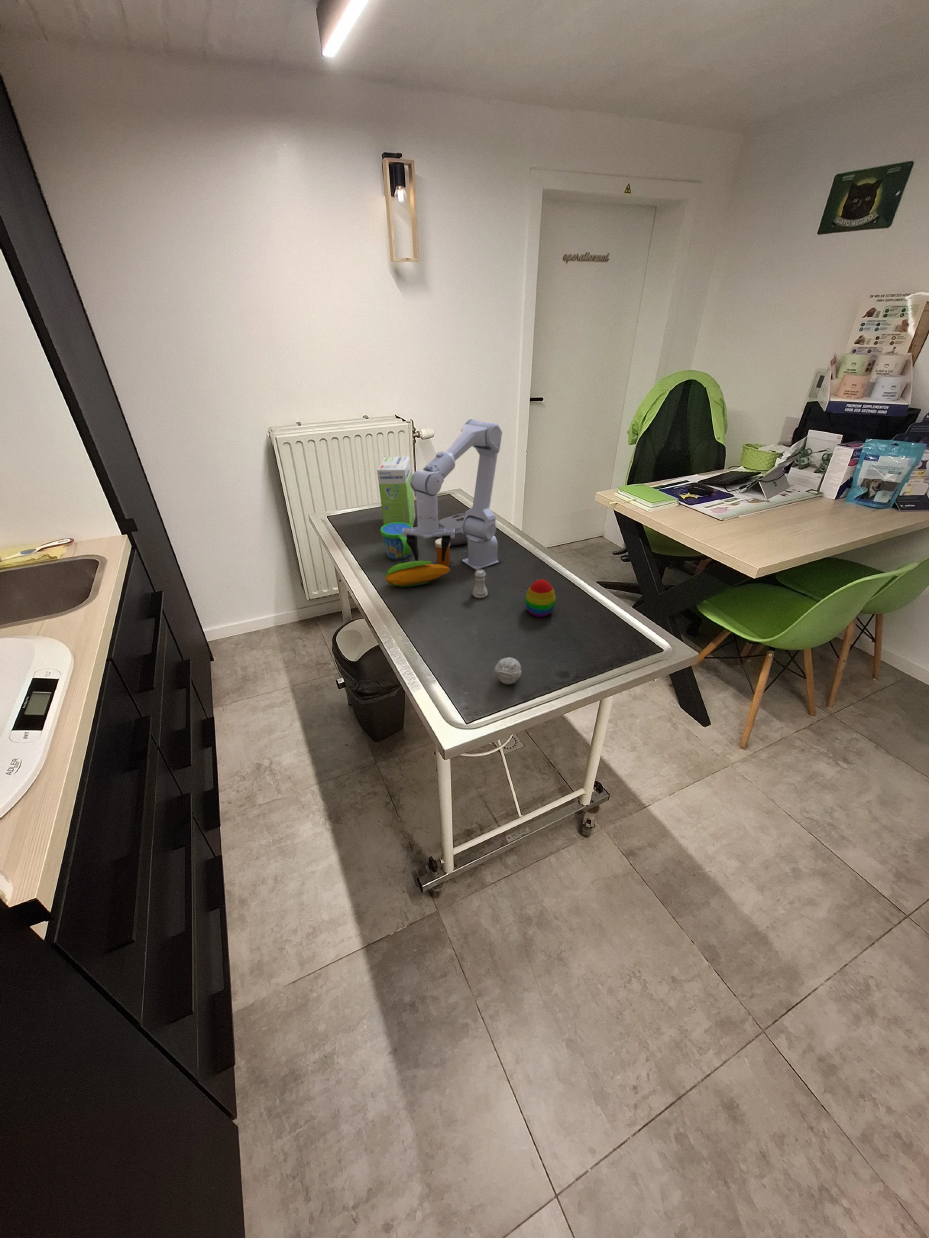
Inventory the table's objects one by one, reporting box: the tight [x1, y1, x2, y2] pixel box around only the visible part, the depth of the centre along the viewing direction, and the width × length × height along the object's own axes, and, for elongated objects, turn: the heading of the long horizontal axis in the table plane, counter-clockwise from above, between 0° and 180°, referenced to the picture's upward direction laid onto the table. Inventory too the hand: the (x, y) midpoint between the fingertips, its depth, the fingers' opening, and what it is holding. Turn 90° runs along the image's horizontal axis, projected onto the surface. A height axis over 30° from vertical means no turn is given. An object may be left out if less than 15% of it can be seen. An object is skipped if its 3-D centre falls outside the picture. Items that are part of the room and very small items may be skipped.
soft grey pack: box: [437, 512, 468, 546], centre depth 176 cm, size 15×8×20 cm
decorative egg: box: [524, 578, 556, 618], centre depth 132 cm, size 8×8×10 cm
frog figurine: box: [494, 657, 522, 685], centre depth 109 cm, size 6×7×7 cm
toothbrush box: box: [376, 456, 416, 528], centre depth 180 cm, size 18×10×24 cm, turn 179°
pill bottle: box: [434, 538, 451, 567], centre depth 158 cm, size 5×5×8 cm
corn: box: [384, 560, 451, 588], centre depth 147 cm, size 7×8×20 cm
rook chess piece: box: [472, 568, 488, 599], centre depth 141 cm, size 4×4×8 cm
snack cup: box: [379, 522, 412, 561], centre depth 162 cm, size 16×10×10 cm
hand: (430, 559), depth 140 cm, fingers open, 7 cm apart
